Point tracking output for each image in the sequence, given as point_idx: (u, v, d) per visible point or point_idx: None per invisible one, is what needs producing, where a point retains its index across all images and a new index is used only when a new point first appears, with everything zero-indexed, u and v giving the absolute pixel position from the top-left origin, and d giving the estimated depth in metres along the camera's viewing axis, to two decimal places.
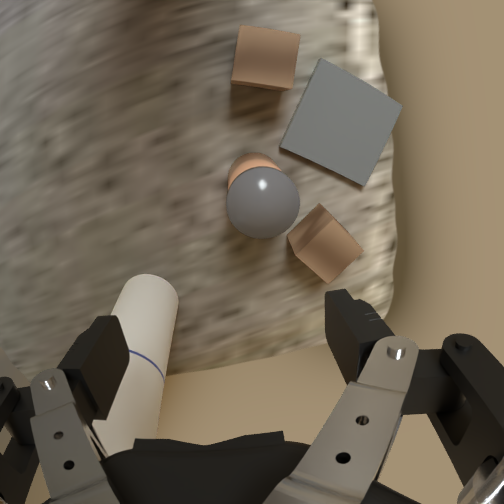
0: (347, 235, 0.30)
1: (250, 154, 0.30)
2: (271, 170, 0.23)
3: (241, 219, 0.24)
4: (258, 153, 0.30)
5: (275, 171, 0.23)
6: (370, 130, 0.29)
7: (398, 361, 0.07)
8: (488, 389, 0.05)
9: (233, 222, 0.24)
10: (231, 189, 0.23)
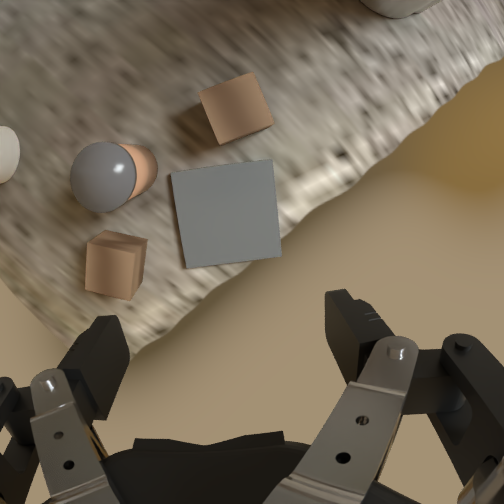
0: (131, 276, 0.29)
1: (149, 152, 0.29)
2: (130, 164, 0.22)
3: (79, 168, 0.22)
4: (154, 159, 0.30)
5: (131, 168, 0.22)
6: (237, 240, 0.33)
7: (398, 361, 0.07)
8: (488, 389, 0.05)
9: (74, 163, 0.21)
10: (98, 143, 0.21)
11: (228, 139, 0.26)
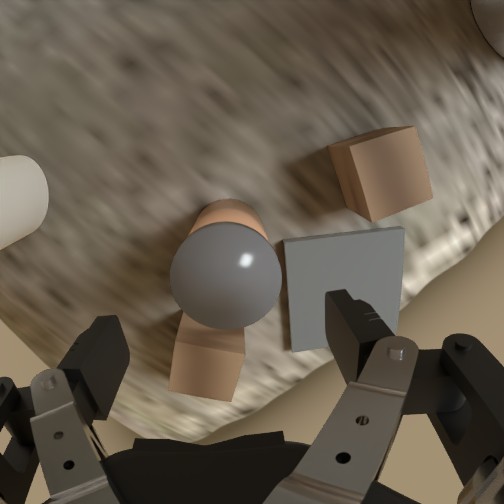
0: (236, 378, 0.23)
1: (256, 214, 0.23)
2: (278, 265, 0.15)
3: (187, 264, 0.15)
4: (261, 222, 0.23)
5: (279, 270, 0.16)
6: None
7: (398, 361, 0.07)
8: (488, 389, 0.05)
9: (177, 256, 0.15)
10: (222, 228, 0.15)
11: (383, 216, 0.19)
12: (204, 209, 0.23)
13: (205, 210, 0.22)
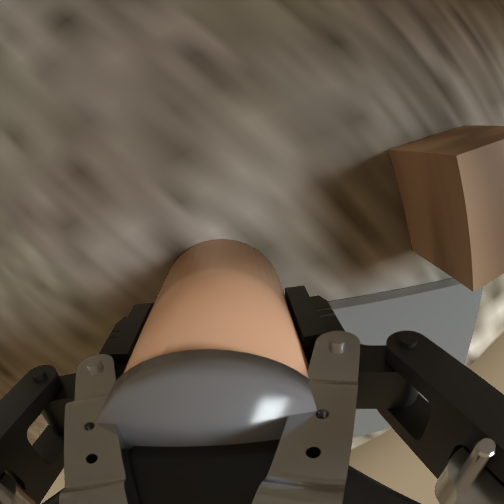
0: None
1: (271, 268, 0.13)
2: None
3: (128, 443, 0.05)
4: None
5: None
6: None
7: (336, 355, 0.07)
8: (443, 382, 0.06)
9: None
10: (200, 387, 0.05)
11: (489, 280, 0.09)
12: (179, 259, 0.13)
13: (179, 266, 0.12)
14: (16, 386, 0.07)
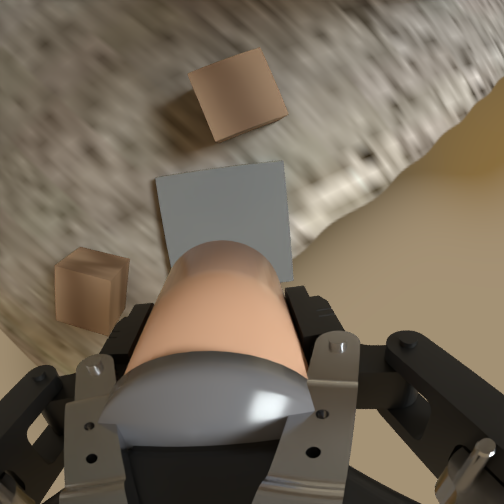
0: (107, 307, 0.23)
1: (271, 269, 0.13)
2: None
3: (128, 444, 0.05)
4: None
5: None
6: None
7: (336, 354, 0.07)
8: (443, 382, 0.06)
9: None
10: (201, 389, 0.05)
11: (227, 134, 0.19)
12: (179, 260, 0.13)
13: (179, 267, 0.12)
14: (16, 386, 0.07)
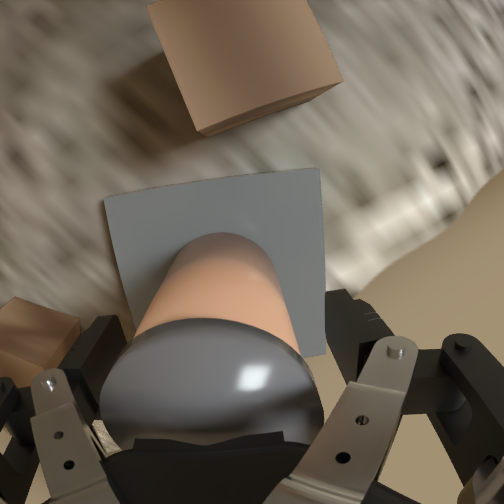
0: None
1: (267, 259, 0.14)
2: (319, 406, 0.07)
3: (130, 405, 0.06)
4: None
5: (320, 414, 0.07)
6: None
7: (397, 361, 0.07)
8: (488, 390, 0.05)
9: (107, 390, 0.06)
10: (194, 347, 0.06)
11: (221, 116, 0.09)
12: (182, 251, 0.14)
13: (181, 256, 0.13)
14: None
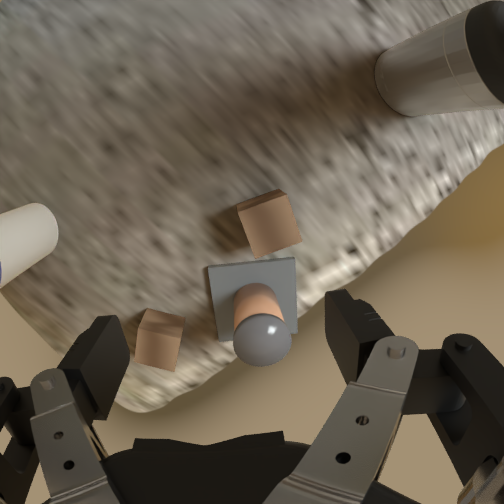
0: (176, 354, 0.35)
1: (273, 293, 0.37)
2: (289, 335, 0.29)
3: (243, 336, 0.29)
4: None
5: (290, 337, 0.30)
6: None
7: (398, 361, 0.07)
8: (488, 389, 0.05)
9: (238, 332, 0.29)
10: (262, 319, 0.29)
11: (263, 254, 0.32)
12: (241, 290, 0.37)
13: (243, 293, 0.36)
14: None
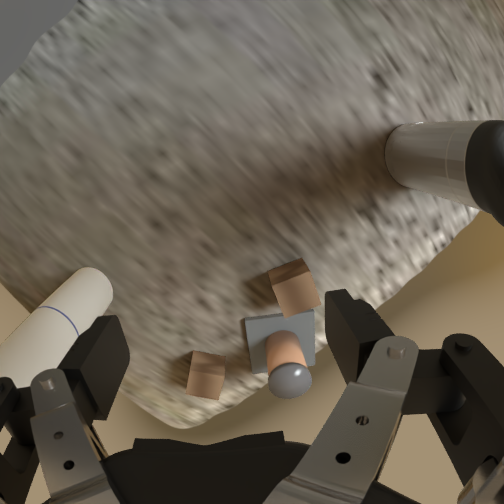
0: (220, 388, 0.44)
1: (296, 338, 0.45)
2: (310, 376, 0.38)
3: (276, 379, 0.38)
4: None
5: (310, 378, 0.38)
6: None
7: (398, 361, 0.07)
8: (488, 389, 0.05)
9: (272, 377, 0.38)
10: (290, 367, 0.37)
11: (291, 315, 0.40)
12: (271, 337, 0.45)
13: (273, 340, 0.44)
14: None
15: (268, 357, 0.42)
